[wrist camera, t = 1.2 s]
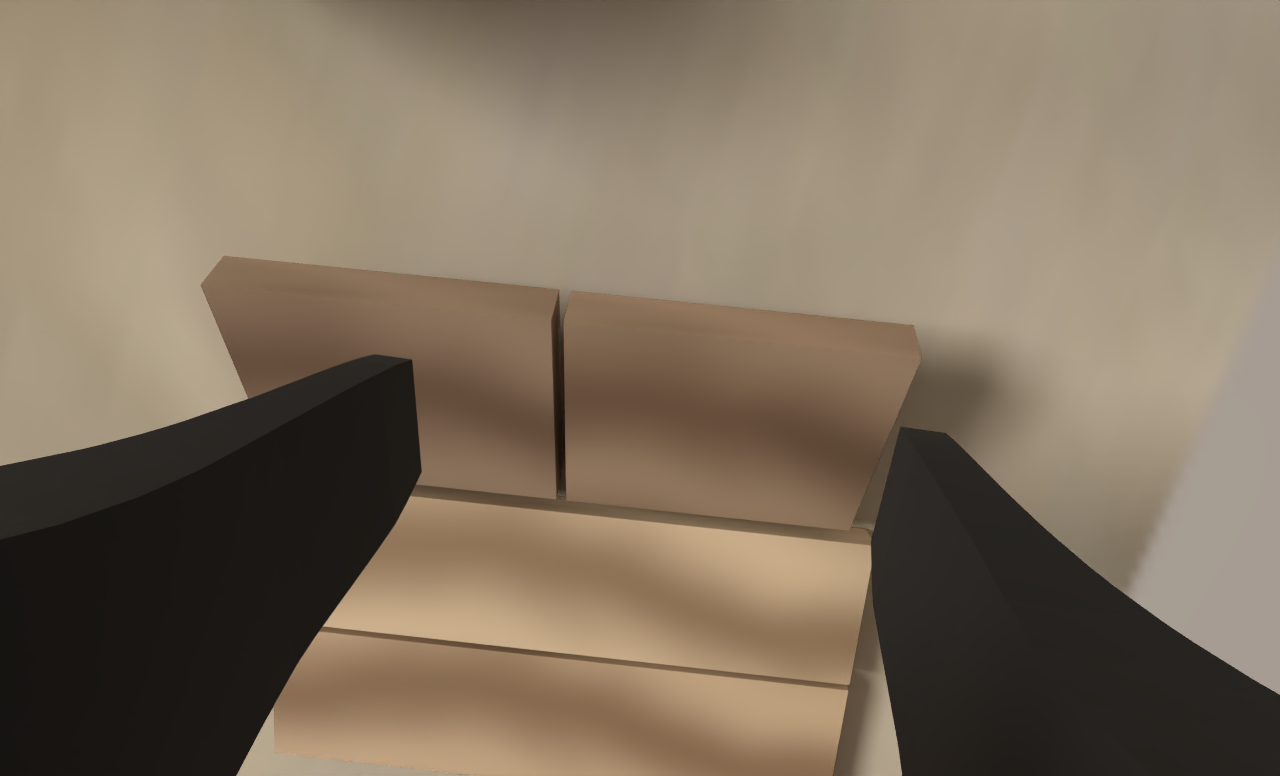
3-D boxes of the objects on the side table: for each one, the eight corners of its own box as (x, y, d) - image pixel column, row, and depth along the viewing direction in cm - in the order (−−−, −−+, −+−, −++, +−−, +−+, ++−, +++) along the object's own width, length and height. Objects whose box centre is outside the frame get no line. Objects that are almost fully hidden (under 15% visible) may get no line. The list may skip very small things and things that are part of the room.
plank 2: (845, 498, 24) (848, 530, 23) (572, 469, 24) (566, 500, 24) (913, 325, 19) (921, 357, 18) (571, 290, 20) (563, 321, 19)
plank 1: (562, 468, 24) (556, 499, 24) (294, 440, 25) (278, 469, 24) (558, 289, 20) (550, 320, 19) (223, 256, 20) (200, 284, 19)
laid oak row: (818, 789, 27) (824, 815, 26) (291, 728, 28) (275, 752, 26) (866, 529, 25) (875, 546, 23) (286, 467, 25) (267, 480, 24)
